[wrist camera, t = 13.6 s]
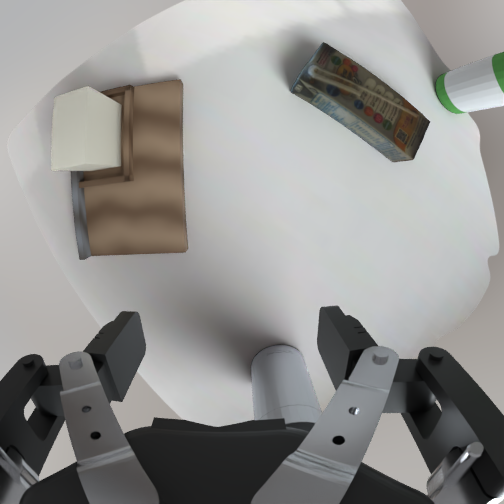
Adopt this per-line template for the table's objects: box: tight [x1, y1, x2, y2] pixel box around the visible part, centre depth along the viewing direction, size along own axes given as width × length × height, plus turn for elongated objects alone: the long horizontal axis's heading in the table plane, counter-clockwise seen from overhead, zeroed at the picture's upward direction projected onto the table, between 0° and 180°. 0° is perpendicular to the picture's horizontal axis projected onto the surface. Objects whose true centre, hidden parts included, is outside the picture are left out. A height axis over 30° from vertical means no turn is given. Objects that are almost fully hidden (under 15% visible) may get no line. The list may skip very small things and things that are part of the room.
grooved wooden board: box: [71, 80, 188, 260], centre depth 34 cm, size 24×16×4 cm
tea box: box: [51, 86, 122, 171], centre depth 28 cm, size 5×9×10 cm, turn 1°
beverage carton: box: [291, 43, 430, 162], centre depth 32 cm, size 8×19×7 cm, turn 60°
